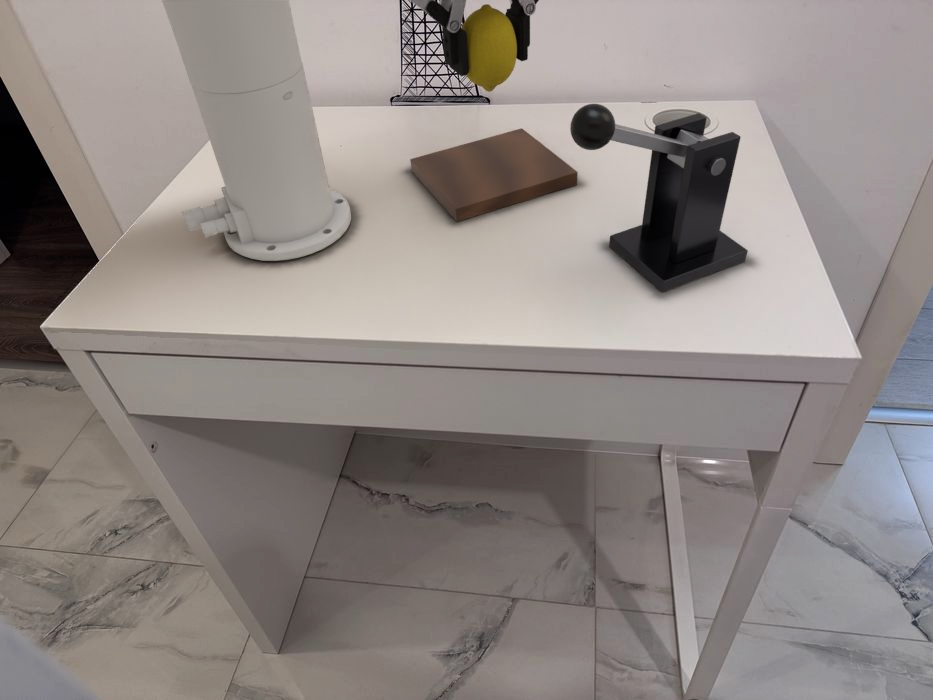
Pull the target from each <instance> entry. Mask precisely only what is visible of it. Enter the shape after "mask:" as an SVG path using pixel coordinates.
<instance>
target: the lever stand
mask: <svg viewBox="0 0 933 700" xmlns="http://www.w3.org/2000/svg"><path fill="white" fill-rule="evenodd" d="M706 124H707V116H706V115H704V114H701V113H700V112H698V113H694V114H690V115H687V116H685V117H681V118H678V119H673V120H671V121H666V122H663V123H660V124H657V125H655V126H654V131H653V132H654V133H653V134H657V135H661V136H665V137H669V138H673V139H676V138H677V136H678V134H679V132H680V130H684V131H688V132H692V133H695V134H699V135H703V136H705V130H706V129H705V128H706ZM740 142H741V135H739V134H737V133H736V132H734V131H731V132H728V133H724V134H719V135H718V136H717V135H716V136H714V137H711V138H708V139H707V140H704V141H701V142H698V143H694V144H691V145H688V146H687V152H686V157H685V163H684V168H682V167H681V166H679V165H677V164H676V163H674V162H673V161H671V160H670V159H668V158H667V156H668V154H667V153H663V152H658V151H654V150H651V155H650V163H649V171H648V178H647V185H646V192H645V201H644V208H643V215H642V221H641V222H642V223H641V224H640V225H637V226H634V227H632V228H628V229H626V230H622V231H620V232H616V233H614V234H611V235H609V241H608V242H609V243H608V247H609V248H610V249H612V250H613V252H615V253H616V254H617V255H618V256H620V257H621V258H622V259H623V260H624V261H625V262H627V263H628V265H630V266H631V267H632V268H633V269H635V270H636V271H637V272H638V273H639V274H641V276H642V277H644V278H645V280H647V281H648V282H649V283H650V284H652V285H653V286H654V287H655V288H656V289H657V290H659V291H660V292H661V293H664V292H667V291H670V290H672V289H675V288H677V287H681V286H682V285H686V284H688V283H691V282H695V281H696V280H699V279H702V278H704V277H707V276H709V275H710V276H711V275H712V274H715V273H717V272H720V271H722V270H725V269H728V268H730V267H734V266H736V265H739V264H741V263H744V262H746V261H747V257H748V256H747V254H748V252H749V250H748V249H747V248H745V247H744V246H742V245H741V244H740V243H738V242H737V241H736V240H733V239H732V238H731V237H730V236H729V235H727V234H725V233H724V232H723V231H721V226H722V222H723V217H724V213H725V208H726V204H727V200H728V195H729V191H730V186H731V183H732V182H731V181H732V177H733V173H734V169H735V163H736V160H737V155H738V151H739V147H740Z"/></svg>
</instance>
